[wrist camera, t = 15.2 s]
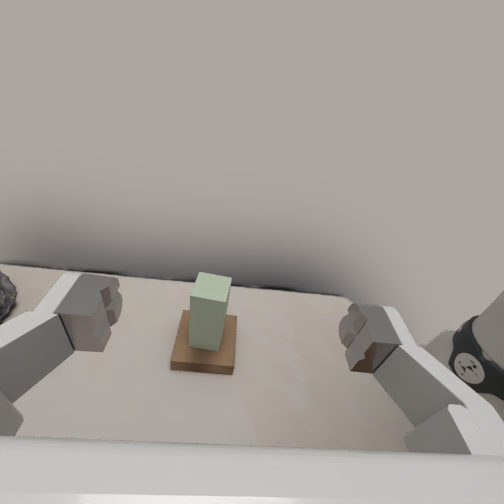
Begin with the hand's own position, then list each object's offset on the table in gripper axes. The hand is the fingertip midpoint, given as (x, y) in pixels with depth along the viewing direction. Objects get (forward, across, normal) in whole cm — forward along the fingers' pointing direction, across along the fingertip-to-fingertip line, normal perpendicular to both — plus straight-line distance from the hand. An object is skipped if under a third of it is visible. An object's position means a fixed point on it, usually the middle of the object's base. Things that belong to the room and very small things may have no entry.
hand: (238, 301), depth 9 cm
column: (+18, +1, +29) cm, 35 cm away
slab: (+18, +1, +32) cm, 37 cm away
